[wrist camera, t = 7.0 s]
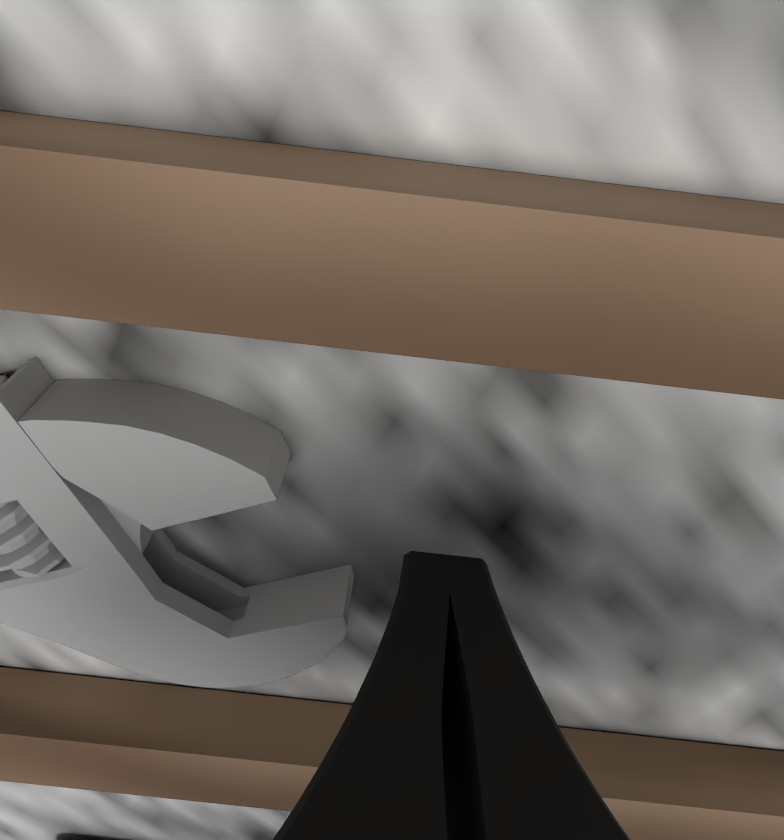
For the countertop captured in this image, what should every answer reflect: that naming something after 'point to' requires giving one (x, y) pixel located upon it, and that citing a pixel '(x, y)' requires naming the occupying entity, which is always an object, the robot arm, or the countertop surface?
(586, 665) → the countertop surface
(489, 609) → the robot arm
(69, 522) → the adjustable wrench
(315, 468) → the countertop surface
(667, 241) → the guide channel
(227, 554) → the countertop surface
